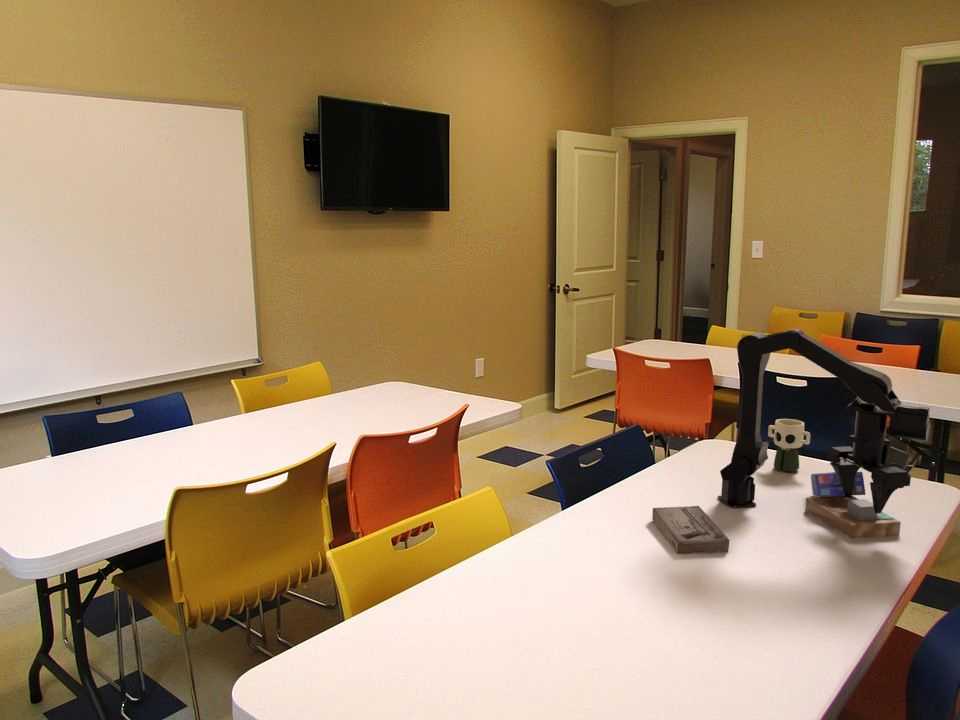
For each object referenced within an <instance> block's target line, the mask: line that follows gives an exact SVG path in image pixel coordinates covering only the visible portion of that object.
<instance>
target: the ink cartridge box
mask: <svg viewBox="0 0 960 720" xmlns="http://www.w3.org/2000/svg"><path fill="white" fill-rule="evenodd" d="M810 482H811V492H812V495H813V497H835V496H845V493H844V491H843V488H842V486H841V484H840V481H839V479H838V477H837V475H836V473H835V471H831V472H830V471H828V472H827V471H826V472H816V473H815V472H814V473H811V475H810ZM865 495H866V488H865V481H864V473H863V472H862V471H857V472H856V476H855V482H854V488H853V493H852V496H865Z"/></svg>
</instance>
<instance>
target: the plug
mask: <svg viewBox="0 0 960 720" xmlns="http://www.w3.org/2000/svg"><path fill="white" fill-rule="evenodd" d="M847 515H848V516H849V517H851V518H853V519H854V520H856V521H858V522H867V521H877V513H875V510H874V506H873V502H871V501H870V500H867V499H865V498H863V499H861V498H860V499H859V500H848V507H847Z"/></svg>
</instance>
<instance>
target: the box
mask: <svg viewBox="0 0 960 720" xmlns="http://www.w3.org/2000/svg"><path fill="white" fill-rule="evenodd" d="M651 518H652V521H653V523H654V524H655V525H656V527H657V529H658V530H659V531H660V533H661V534H662V535H663V537H664V538H665V540H666V541H667V543H668V544H669V545H670V546H671V548H672V549H673V550H674V552H675V553H676V554H677V555H689V554H714V553H715V554H716V553H724V554H725V553H729V549H730V538H728V536H727V535H726V534H725V533H724V532H723V531H722V530H721V528H720V527H718V525H717V524H716V523H715V522H714V521H713V520H712V519H711V518H710V516H709V515H707V514H706V512H705V511H704V510H703V509H702V508H701V507H700V506H699V505H693V506H691V505H690V506H687V505H686V506H674V507H673V506H669V507H667V506H666V507H653V508H652V517H651Z"/></svg>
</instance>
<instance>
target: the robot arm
mask: <svg viewBox="0 0 960 720" xmlns="http://www.w3.org/2000/svg"><path fill="white" fill-rule="evenodd" d="M789 349H790V350H792V351H794V352H795V353H797V354H799V355H800V356H802V357H804V358H805V359H807V360H808V361H810V362H812V363H813V364H815V365H817V366H819V367H820V368H821V369H823V370H825V371H826V372H828V373H829V374H831V375H833V376H834V377H836V378H838V379H839V380H840V382H842V383H844V385H845V386H846V387H847V388H848V389H849V390H850V392H852V393H853V394H854V395H855V396H857V397H856V398H855V399H854V400H853V401H852V402H851V403H849V404H848V405H847V406H846V407H845V409H846V411H850V412H851V411H853V412H855V413H856V415H855V423H854V434H852V435H851V434H849V439H848V440H849V441H851V442H853V444H852V447H851V446H849V445H848V446H831V447H830V448H829V449H828V450H827V452H826V460H827V461H829V463H830V464H829V465H830V466H831V467H832V468H833V472H835V473H836V475H837V477H838V479H839V481H840V484H841V486H842V488H843V491H844V493H845V496H846V497H851V496H852V493H853V488H854V482H855V476H856V472H859V470H860V469H863V471H864V470H865V471H867V472H868V473H871V475H870V478H871V482H869V486H870V487H869V488H870V492H871V498H872V503H873V506H874V510H875V513H881V512H883V510H884V508H885V506H886V504H887V503H888V501H889V499H890V497H891V496H892V494H893V493H894V492H895V491H896V490H898V489H904V488H905V487H910V486H911V481H912V480H911V479H912V475H911V474H910V473H909V471H907V470H904V469H905V468H906V467H907V464H908V461H909V460H910V457H911V455H912V454H911V453H909V452H906V451H903V450H901V449H898V448H896V447H893V446H892V441H891V440H890V439H887V438H886V435H887V426H888V432H890V433H891V435H894V438H898V439H905V440H913V441H919V442H924V443H925V442H926V443H927V441H928V439H929V434H930V428H931V421H930V407H928V406H927V407H926V406H912V405H904V404H902V401H901V400H900V399H899V397H898V396H897V394H896V393H895V392H894V390H893V383H892V379H891V378H890V376H888V375H887V374H886V373H884V372H882V371H879V370H876V369H874V368H872V367H869V366H866V365H863V364H859V363H856V362H854V361H851V360H849V359H848V358H846V357H844V355H842V354H840V353H838V352H837V351H835V350H832V349H831V348H830V347H828V346H826V345H824V344H823V343H822V342H820V341H818V340H816V339H815V338H812V336H809V335H808V334H807V333H805V332H804V331H803V330H802V329H799V328H792V329H789V330H786V331H780V332H775V333H770V334H769V333H768V334H766V333H763V332H754V333H750V334H748V335H745V336H743V337H742V338H741V339H739V341H738V342H737V346H736V351H737V359H738V364H739V367H740V371H741V373H742V374H741V375H742V379H741V382H742V383H741V399H740V400H741V401H740V415H739V416H740V418H739V419H740V421H739V434H738V437H737V440H736V441H735V446H734V448H733V452H732V455H731V460H730V463H728V464H727V465H725V466H724V467H723V468H722V469H720V470H719V471H720V472H719V473H720V476H721V479H722V481H721V491H720V492H721V493H720V494H721V495H717V499H718V500H720V501H721V502H722V503H724V504H725V505H726V506H728V507H730V508H743V507H744V508H745V507H756V506H757V502H754V501H755V495H756V494H755V493H756V484H755V477H753V475H754V474H755V472H757V471H758V470H759V469H761V468H762V467H763V466H764V465H765V463H766V461H767V460H768V459H769V456H768V447H769V444H770V443H769V441H763V439H762V437H761V423H762V422H761V420H762V405H763V403H762V402H763V388H764V386H763V385H764V374H765V371H766V368H767V365H768V363H769V361H770V357H771V353H775V352H779V351H784V350H785V351H786V350H789ZM861 400H862V401H861ZM888 416H889V424H888ZM891 464H894V465H896V466H891ZM883 465H884V466H883ZM897 466H900V467H897Z"/></svg>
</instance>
